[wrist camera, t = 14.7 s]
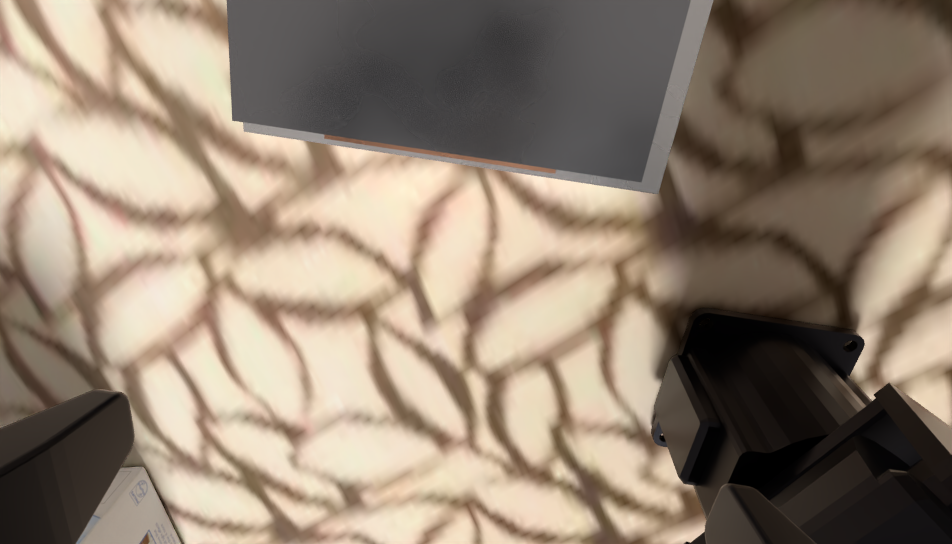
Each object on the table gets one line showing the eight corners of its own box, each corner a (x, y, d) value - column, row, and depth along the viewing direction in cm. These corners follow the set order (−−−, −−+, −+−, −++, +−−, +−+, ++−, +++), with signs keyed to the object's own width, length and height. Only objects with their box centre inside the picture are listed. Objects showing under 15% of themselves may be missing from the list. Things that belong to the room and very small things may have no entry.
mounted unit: (714, -40, 17) (811, -68, 11) (651, 186, 20) (704, 251, 14) (249, -111, 17) (120, -173, 11) (256, 126, 20) (156, 168, 14)
